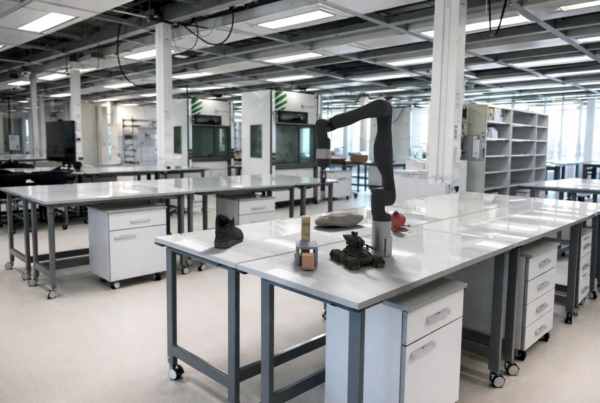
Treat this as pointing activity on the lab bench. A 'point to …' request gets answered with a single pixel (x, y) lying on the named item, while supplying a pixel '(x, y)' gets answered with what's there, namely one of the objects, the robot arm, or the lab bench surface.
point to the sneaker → (226, 232)
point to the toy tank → (356, 253)
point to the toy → (398, 221)
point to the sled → (305, 235)
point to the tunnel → (307, 245)
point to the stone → (339, 219)
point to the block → (307, 259)
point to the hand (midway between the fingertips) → (322, 190)
